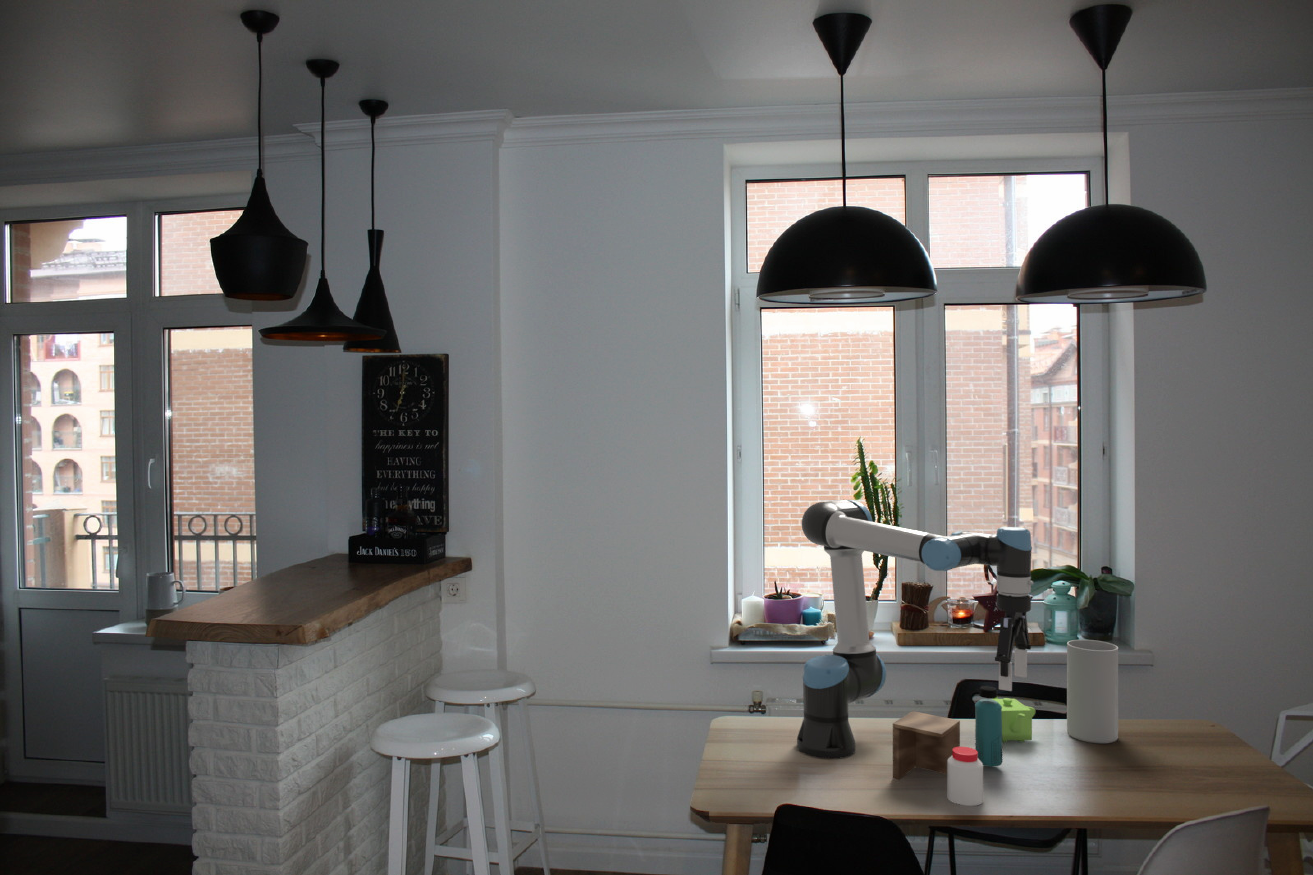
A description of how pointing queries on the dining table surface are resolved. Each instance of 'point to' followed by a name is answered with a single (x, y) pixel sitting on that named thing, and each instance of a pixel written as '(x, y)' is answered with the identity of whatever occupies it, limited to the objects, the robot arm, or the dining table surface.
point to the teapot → (1016, 720)
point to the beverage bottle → (988, 728)
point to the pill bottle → (965, 777)
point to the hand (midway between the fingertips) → (1013, 683)
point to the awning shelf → (923, 742)
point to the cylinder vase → (1092, 691)
